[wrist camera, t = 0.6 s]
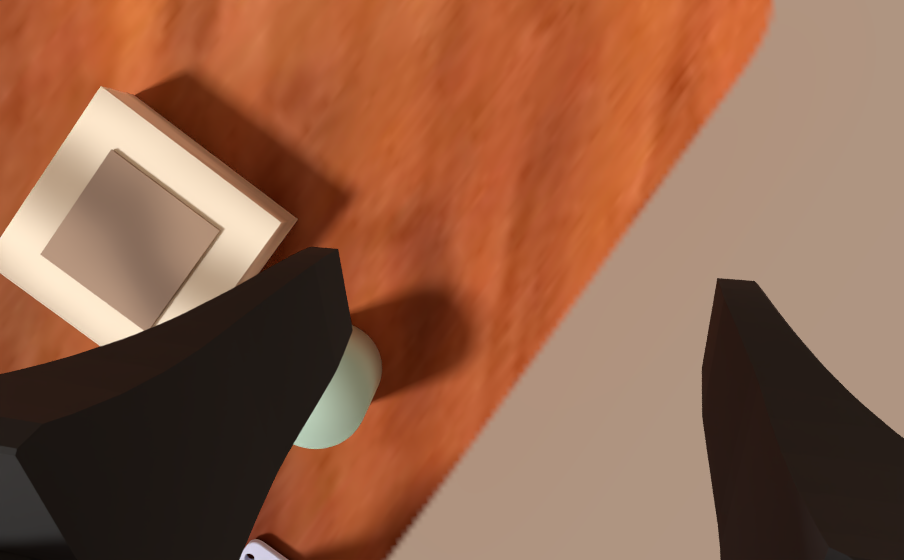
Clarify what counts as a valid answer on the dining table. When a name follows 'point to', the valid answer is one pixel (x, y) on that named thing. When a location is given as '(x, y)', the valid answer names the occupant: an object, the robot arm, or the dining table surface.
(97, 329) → the birch base
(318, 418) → the pale green rounded cylinder
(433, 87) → the dining table surface
